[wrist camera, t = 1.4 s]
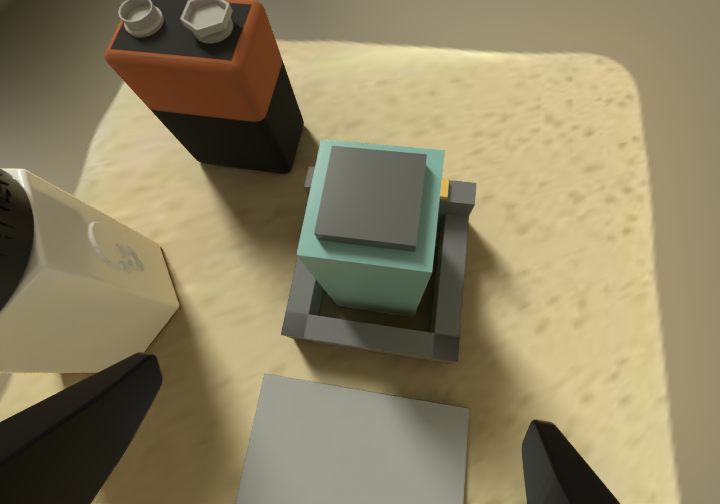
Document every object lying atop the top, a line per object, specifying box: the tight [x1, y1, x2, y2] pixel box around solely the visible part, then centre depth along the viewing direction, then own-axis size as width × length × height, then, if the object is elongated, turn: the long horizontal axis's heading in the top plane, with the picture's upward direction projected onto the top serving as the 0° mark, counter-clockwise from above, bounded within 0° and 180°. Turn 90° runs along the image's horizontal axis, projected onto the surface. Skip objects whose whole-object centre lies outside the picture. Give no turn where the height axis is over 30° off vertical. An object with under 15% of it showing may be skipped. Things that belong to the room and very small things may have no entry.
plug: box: [296, 139, 445, 317], centre depth 17 cm, size 4×4×11 cm
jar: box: [0, 168, 179, 373], centre depth 17 cm, size 9×8×12 cm
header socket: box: [281, 166, 476, 363], centre depth 20 cm, size 9×9×4 cm
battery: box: [105, 0, 304, 173], centre depth 21 cm, size 4×7×10 cm, turn 79°
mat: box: [235, 374, 469, 504], centre depth 19 cm, size 9×11×1 cm
